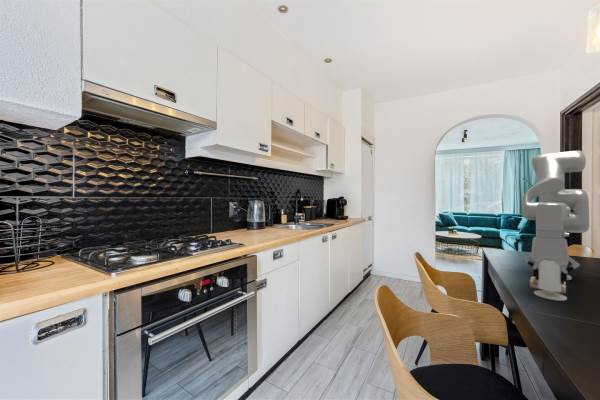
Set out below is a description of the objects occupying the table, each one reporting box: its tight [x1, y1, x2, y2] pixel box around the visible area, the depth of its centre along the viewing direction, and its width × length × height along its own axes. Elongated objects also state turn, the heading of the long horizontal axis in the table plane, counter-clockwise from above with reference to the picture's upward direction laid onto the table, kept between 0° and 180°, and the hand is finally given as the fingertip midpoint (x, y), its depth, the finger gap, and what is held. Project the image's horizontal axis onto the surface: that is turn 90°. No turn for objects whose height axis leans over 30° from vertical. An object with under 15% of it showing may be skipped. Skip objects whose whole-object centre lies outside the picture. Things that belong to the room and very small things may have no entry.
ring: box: [529, 275, 567, 295], centre depth 106 cm, size 11×11×2 cm
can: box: [538, 259, 562, 294], centre depth 96 cm, size 6×6×12 cm
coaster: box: [533, 289, 568, 302], centre depth 96 cm, size 9×9×1 cm
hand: (549, 280), depth 96 cm, fingers closed on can, 6 cm apart
